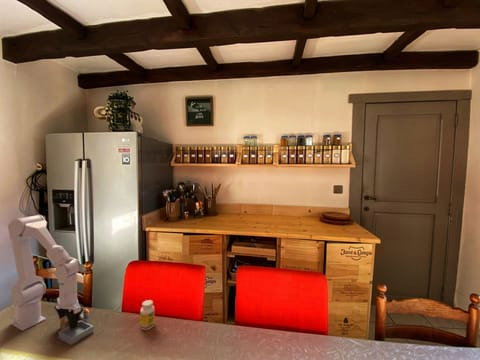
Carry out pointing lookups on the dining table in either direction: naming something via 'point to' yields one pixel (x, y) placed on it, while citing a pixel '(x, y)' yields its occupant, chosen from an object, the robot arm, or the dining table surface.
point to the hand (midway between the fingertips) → (68, 324)
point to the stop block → (64, 323)
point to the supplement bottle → (147, 315)
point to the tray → (76, 333)
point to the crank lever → (84, 314)
